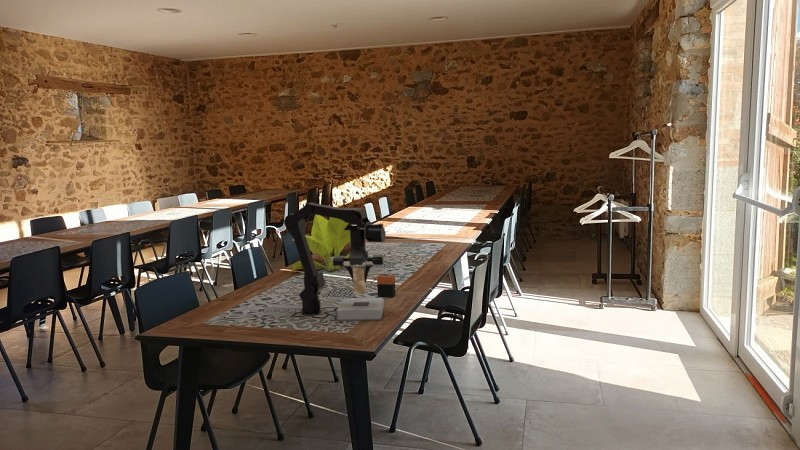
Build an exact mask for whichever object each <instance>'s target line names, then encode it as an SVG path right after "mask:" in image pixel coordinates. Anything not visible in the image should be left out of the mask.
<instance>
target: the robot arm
mask: <svg viewBox="0 0 800 450" xmlns="http://www.w3.org/2000/svg"><path fill="white" fill-rule="evenodd" d="M311 215H314V216H315V215H320V216H322V217H328V218H330V217H332V218H337V219H340V220H342V221H344V222H346V223H349V224H348V225H347V227H346V228H344V230H350V252H349V253H348V254H349V258H345V257H346V255H339V256H336V257H335V256H334V257H335V258H334V257H333V259H332V265H333V266H339V267H340V266H341V267H343V268H345V269H346V270H347V272H348V273H349V276H350V278H351V280H352V283H353V284H354V280H353V268H354V266H363V265H364V263H365V265H364V266H365V278H364V279H365V283H366V282H367V279H368V275H369V273H370V269H371V268H374V266H378V265H379V266H383V264H384V263H385V258H384V256H385V255H383V254H373V256H370V257H369V252H368V251H367V249H366V247H367V246H366V245H367V244H366V241H367V242H369V243H385V241H386V237H387V236H386V233H387V232H386V231H385V227H384V224H383V223H375V224H374V223H373V222H371V221H370V219H369V218H368V217H367V214H366V211H365V210H364V209H363V208H361V207H347V208H344V207H343V208H342V207H337V206H332V205H331V206H330V205H325V204H319V203H315V202H308V203H306V204H305V205H303V207H301V208H300V209H298V210H297V211H295V212H294V213H290V214H288V215H286V216H285V217H284V219H283V224H284V227H285V229H286V231H287V232H288V233H289V235H290V236H291V237H292V238H293V239H294V241H293V242H294V244H295V248H296V251H297V254H298V257H299V261H301V264H302V267H301V268H302V270H303V285H304V289H302V291H301V292H300V293H299V294H298V296H299V298H300V300H301V307H302V312H301V315H319V314H320V312H321V310H322V299H320V295H321V292H322V291H323V290H324V288H325V284H326V282H327V281H326V280H325V278H324V273H323V272H322V271H321V272H319V271H318V270H317V267H315V265H314V262H313V260H314V259H313V256H312V253H311V252H312V251H310V249H309V245H308V242H307V239H306V236H307V235H306V227H307V226H306V220H307V219H309V218H310V217H311ZM351 224H352V225H351ZM305 235H306V236H305ZM293 239H292V240H293ZM366 284H367V283H366Z"/></svg>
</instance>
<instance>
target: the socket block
mask: <svg viewBox="0 0 800 450" xmlns="http://www.w3.org/2000/svg"><path fill="white" fill-rule="evenodd" d="M384 304H385V302H384V297H377V298H375V297H373V298H372V297H371V298H370V297H369V298H343V299H342V300H341V302H340V304H339V306H338V308H337V310H336V312H337V313H336V315H337V322H345V321H346V322H347V321H349V322H352V321H353V322H355V321H358V322H359V321H381V320H382V317H383V312H384V309H385V308H384V307H385V305H384Z"/></svg>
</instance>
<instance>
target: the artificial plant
mask: <svg viewBox="0 0 800 450" xmlns="http://www.w3.org/2000/svg"><path fill="white" fill-rule="evenodd" d="M312 222H313V223H312V227H311V233H310V234H311V235H306V234H305V236H306V239H307V242H308V245H309V249H310V252H312V253H314V254H316V255H318V256H319V257H321V258H322V259H323V261H324V262H325V264H326V266H325V265H323V264H321V263H319V262H318V261H316V260H314V259H313V262H314V265H315V268H318V267H323V268H325V269H327V270H328V271H329V272H333V271H335V270H339V269H340V266H333V260H332V257H331V256H332V254H333V253H334V256H333V259H334V258H335V257H336V256H341V255H340V252H341V251H342V249H343V248H344V247H345V245H346V244H347V243H348V242H349V241H350V230H344V228H346V227H347V225H348V224H349V223H346V222H344V221H342V220H340V219H337V218H332V217H331V218H330V217H329V219H326V218H325V216H321V215H315V214H314V218H313V221H312ZM351 225H352V224H351ZM292 241H293V242H294V239H292ZM333 247H334V248H335V249H334V252H333ZM349 254H350V253H347V254H346V255H345V258H349ZM326 259H327V260H326ZM300 268H303V267H302V264H301V261H300V260H299V261H296V262H295V263H294V264H293V265H292V268H291V272H295V270H298V269H300Z"/></svg>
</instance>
